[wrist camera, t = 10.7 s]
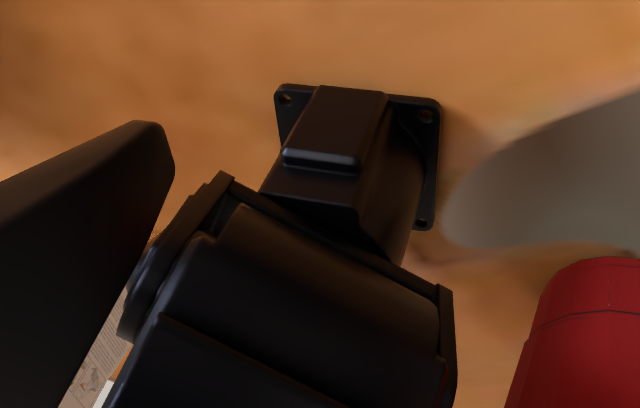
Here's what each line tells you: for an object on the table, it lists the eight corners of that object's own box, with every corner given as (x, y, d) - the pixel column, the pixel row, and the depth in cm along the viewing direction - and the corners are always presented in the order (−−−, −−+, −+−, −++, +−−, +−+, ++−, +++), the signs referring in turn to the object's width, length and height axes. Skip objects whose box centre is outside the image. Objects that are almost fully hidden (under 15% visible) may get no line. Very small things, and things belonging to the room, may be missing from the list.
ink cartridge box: (125, 306, 40) (34, 443, 33) (49, 178, 33) (-88, 321, 26) (157, 311, 39) (69, 453, 33) (86, 182, 32) (-46, 330, 25)
